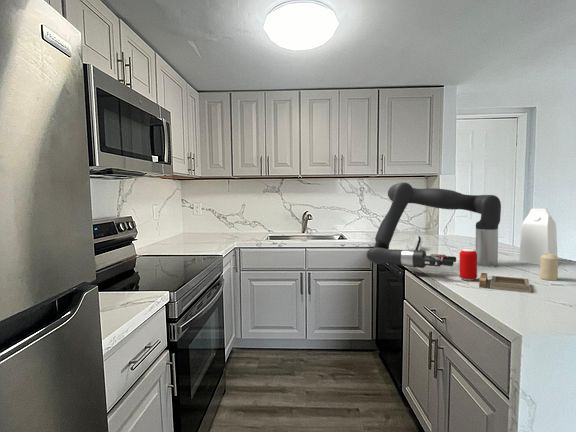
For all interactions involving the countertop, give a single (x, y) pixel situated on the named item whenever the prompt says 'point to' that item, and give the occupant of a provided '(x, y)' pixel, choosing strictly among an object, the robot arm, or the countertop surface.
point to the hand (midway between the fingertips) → (454, 261)
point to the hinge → (415, 243)
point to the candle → (549, 267)
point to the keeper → (510, 284)
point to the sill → (483, 280)
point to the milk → (537, 236)
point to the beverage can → (468, 264)
